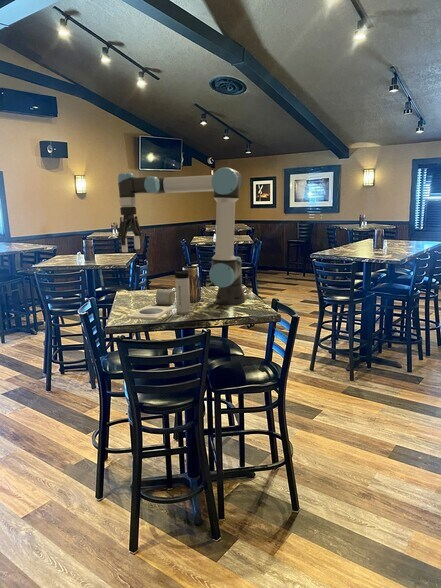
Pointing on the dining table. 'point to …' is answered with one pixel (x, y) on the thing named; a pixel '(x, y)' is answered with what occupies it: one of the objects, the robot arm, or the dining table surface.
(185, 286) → the travel mug
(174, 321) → the dining table surface
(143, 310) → the beige plate with hole
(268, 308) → the dining table surface
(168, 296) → the ceramic mug
